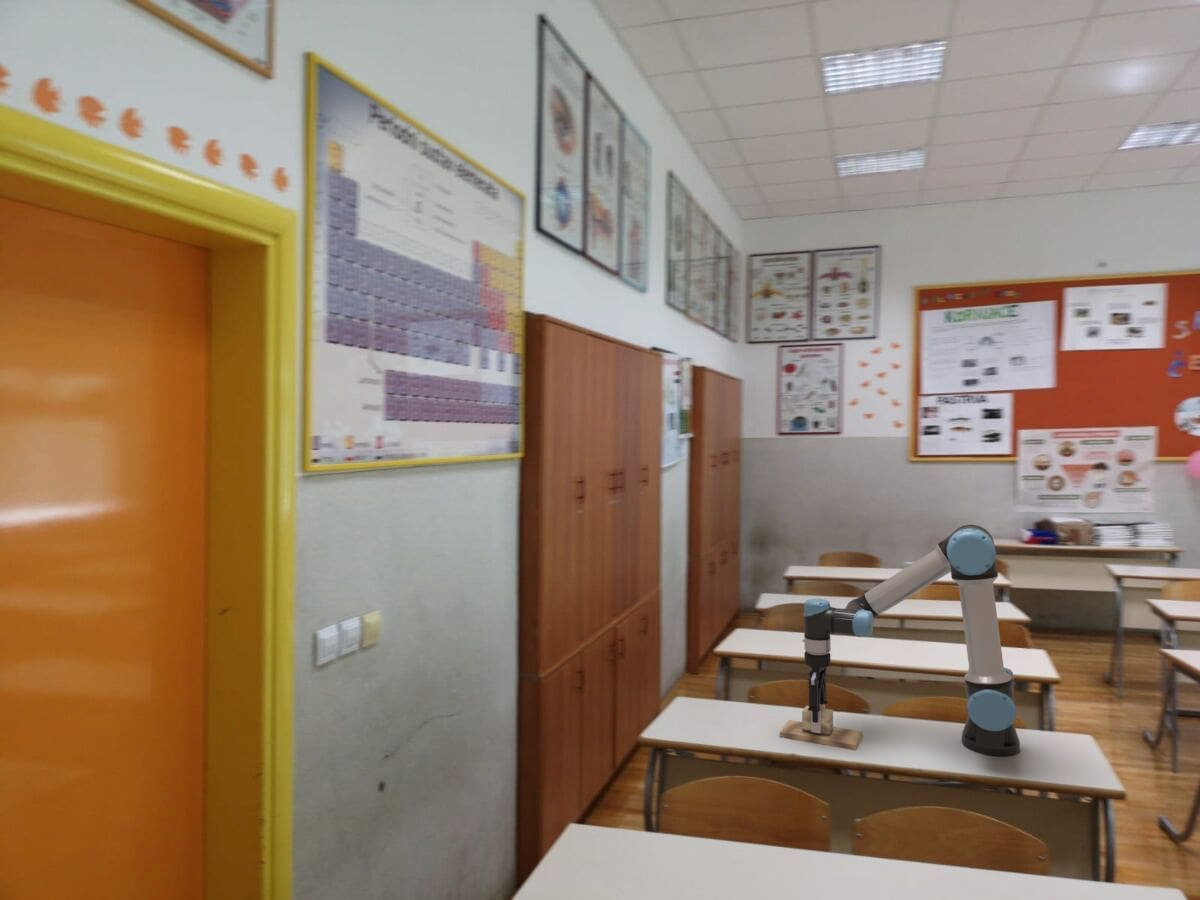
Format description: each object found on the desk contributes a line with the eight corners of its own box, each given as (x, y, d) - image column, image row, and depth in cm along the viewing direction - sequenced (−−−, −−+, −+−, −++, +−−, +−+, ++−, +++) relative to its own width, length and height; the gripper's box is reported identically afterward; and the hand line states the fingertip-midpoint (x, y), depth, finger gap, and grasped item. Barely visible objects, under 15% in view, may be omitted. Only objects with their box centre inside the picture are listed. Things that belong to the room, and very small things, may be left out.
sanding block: (833, 729, 238) (833, 709, 238) (829, 735, 234) (829, 715, 233) (806, 725, 242) (806, 705, 242) (802, 730, 237) (802, 710, 237)
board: (862, 736, 237) (862, 731, 237) (855, 750, 227) (855, 744, 227) (789, 724, 247) (789, 719, 247) (779, 736, 238) (779, 731, 238)
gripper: (811, 642, 247) (812, 717, 247) (797, 658, 231) (798, 737, 231) (836, 645, 243) (837, 720, 244) (823, 661, 227) (824, 741, 228)
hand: (818, 728), depth 238 cm, fingers closed on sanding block, 5 cm apart
